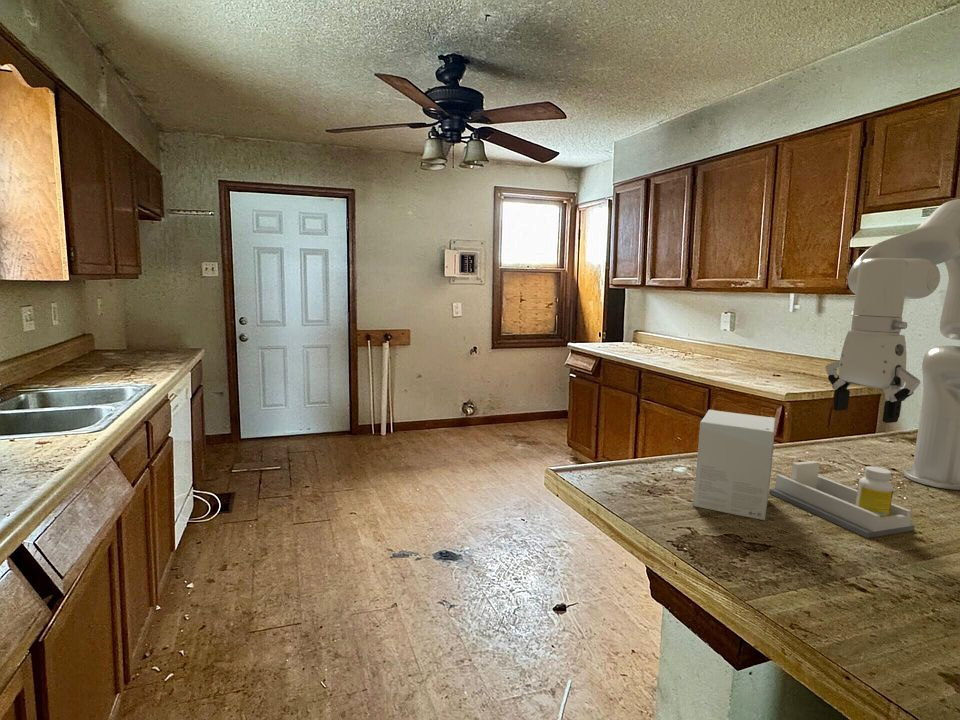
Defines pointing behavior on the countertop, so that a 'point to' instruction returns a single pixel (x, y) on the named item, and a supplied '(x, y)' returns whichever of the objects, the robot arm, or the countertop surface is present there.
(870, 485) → the supplement bottle
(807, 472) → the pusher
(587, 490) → the countertop surface
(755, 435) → the supplement box
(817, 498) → the lane
